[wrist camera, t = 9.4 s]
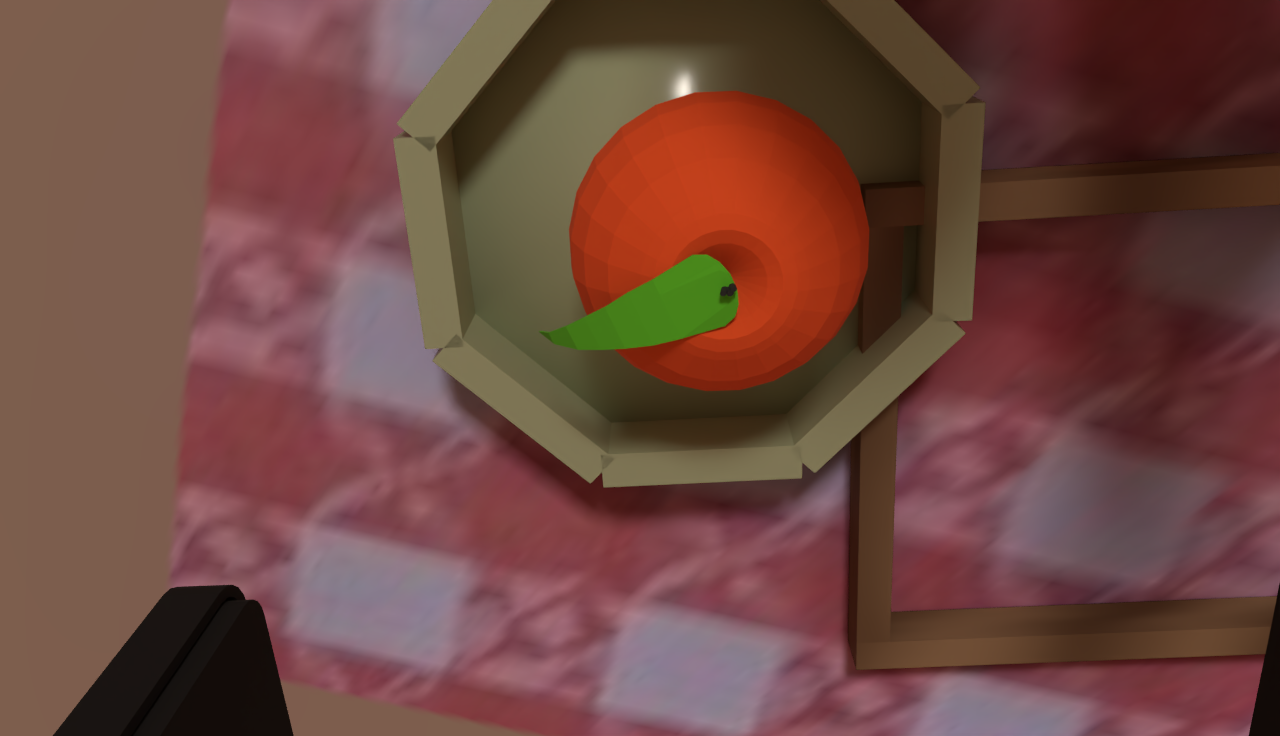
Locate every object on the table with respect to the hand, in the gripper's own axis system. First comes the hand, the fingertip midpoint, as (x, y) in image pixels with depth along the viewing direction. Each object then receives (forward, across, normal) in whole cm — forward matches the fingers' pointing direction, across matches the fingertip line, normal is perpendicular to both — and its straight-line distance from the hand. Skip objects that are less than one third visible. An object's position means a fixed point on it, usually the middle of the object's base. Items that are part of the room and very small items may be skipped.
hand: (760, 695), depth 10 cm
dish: (+20, 0, 0) cm, 20 cm away
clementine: (+19, 0, 0) cm, 19 cm away
